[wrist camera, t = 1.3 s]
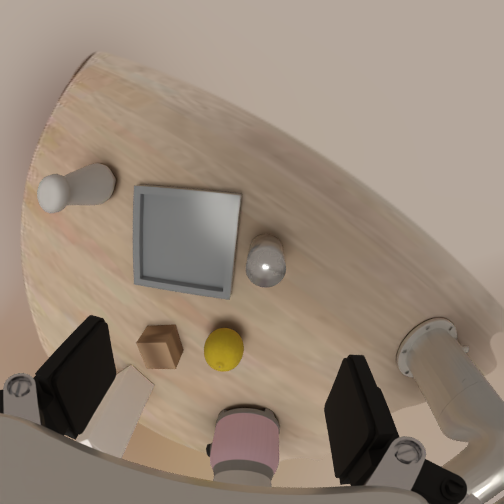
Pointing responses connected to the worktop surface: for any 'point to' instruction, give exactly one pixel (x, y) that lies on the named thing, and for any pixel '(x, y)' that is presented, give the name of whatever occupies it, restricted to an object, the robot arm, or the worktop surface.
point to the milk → (118, 413)
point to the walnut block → (160, 347)
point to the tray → (185, 239)
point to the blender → (245, 447)
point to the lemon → (223, 349)
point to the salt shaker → (76, 188)
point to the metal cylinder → (266, 261)
